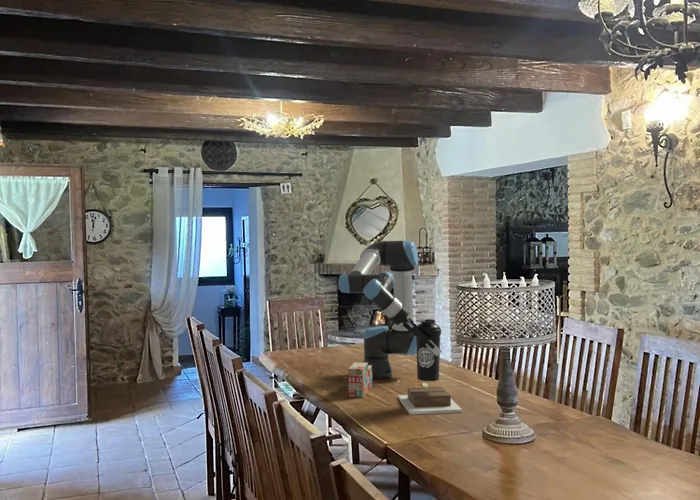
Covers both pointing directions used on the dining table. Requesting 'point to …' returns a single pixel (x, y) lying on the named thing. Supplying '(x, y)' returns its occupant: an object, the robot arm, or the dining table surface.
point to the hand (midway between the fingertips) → (436, 351)
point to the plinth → (429, 397)
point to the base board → (428, 410)
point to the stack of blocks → (359, 379)
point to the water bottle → (428, 352)
